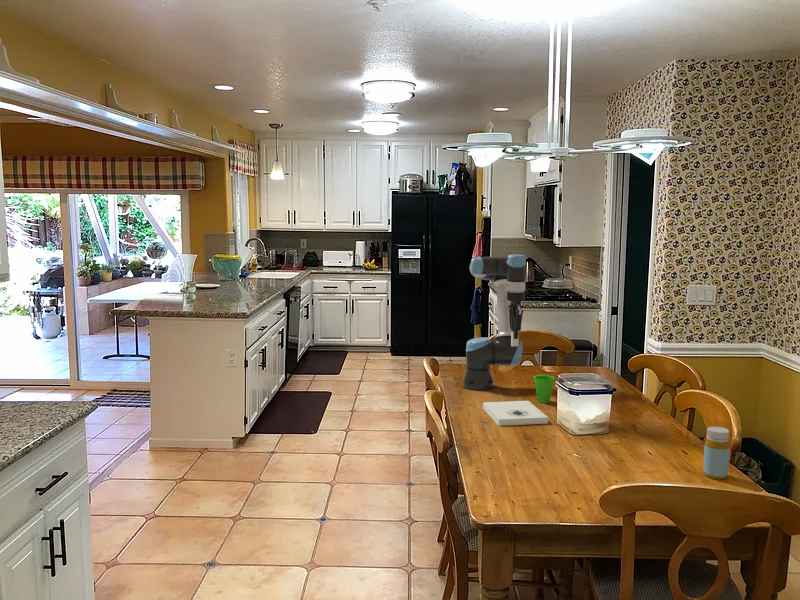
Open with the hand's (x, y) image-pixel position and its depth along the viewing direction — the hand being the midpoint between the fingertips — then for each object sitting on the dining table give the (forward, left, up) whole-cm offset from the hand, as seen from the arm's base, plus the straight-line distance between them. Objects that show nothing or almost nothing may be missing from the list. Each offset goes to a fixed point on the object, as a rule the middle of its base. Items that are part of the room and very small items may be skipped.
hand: (514, 345), depth 278 cm
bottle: (+85, +39, -26) cm, 97 cm away
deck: (+14, -4, -26) cm, 30 cm away
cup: (-4, +15, -26) cm, 30 cm away
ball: (+19, -4, -25) cm, 31 cm away
